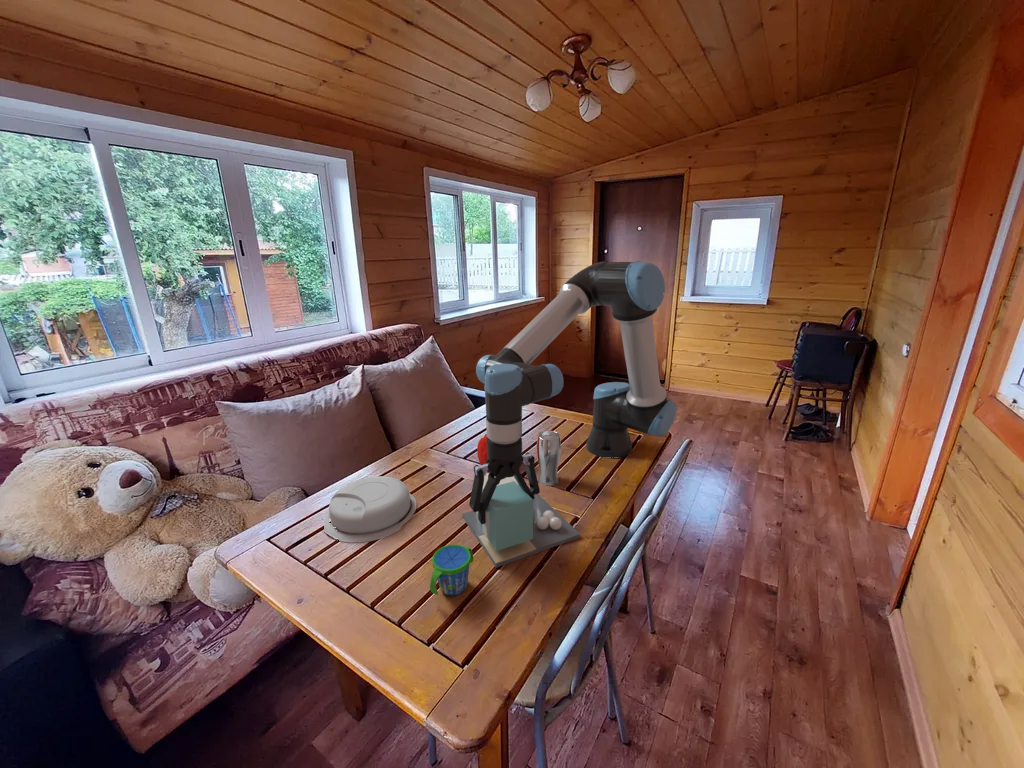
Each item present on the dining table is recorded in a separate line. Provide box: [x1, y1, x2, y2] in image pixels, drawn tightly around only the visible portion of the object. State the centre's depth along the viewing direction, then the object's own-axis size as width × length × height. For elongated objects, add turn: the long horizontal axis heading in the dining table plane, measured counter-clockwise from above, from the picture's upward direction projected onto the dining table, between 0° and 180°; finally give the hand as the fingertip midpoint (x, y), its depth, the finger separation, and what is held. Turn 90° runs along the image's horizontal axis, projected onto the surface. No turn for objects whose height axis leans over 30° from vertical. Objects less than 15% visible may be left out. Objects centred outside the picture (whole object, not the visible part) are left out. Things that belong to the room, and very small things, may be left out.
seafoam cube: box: [480, 481, 533, 551], centre depth 96 cm, size 9×9×10 cm
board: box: [461, 493, 581, 569], centre depth 106 cm, size 22×21×1 cm
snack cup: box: [429, 544, 474, 596], centre depth 86 cm, size 11×8×7 cm
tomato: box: [476, 433, 488, 466], centre depth 134 cm, size 14×13×10 cm
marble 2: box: [543, 510, 555, 522], centre depth 106 cm, size 3×3×3 cm
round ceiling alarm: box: [324, 475, 417, 544], centre depth 113 cm, size 25×25×6 cm
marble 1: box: [536, 517, 549, 530], centre depth 103 cm, size 3×3×3 cm
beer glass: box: [536, 430, 562, 487], centre depth 125 cm, size 7×7×15 cm
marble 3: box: [549, 517, 562, 530], centre depth 103 cm, size 3×3×3 cm
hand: (506, 527), depth 97 cm, fingers closed on seafoam cube, 9 cm apart
